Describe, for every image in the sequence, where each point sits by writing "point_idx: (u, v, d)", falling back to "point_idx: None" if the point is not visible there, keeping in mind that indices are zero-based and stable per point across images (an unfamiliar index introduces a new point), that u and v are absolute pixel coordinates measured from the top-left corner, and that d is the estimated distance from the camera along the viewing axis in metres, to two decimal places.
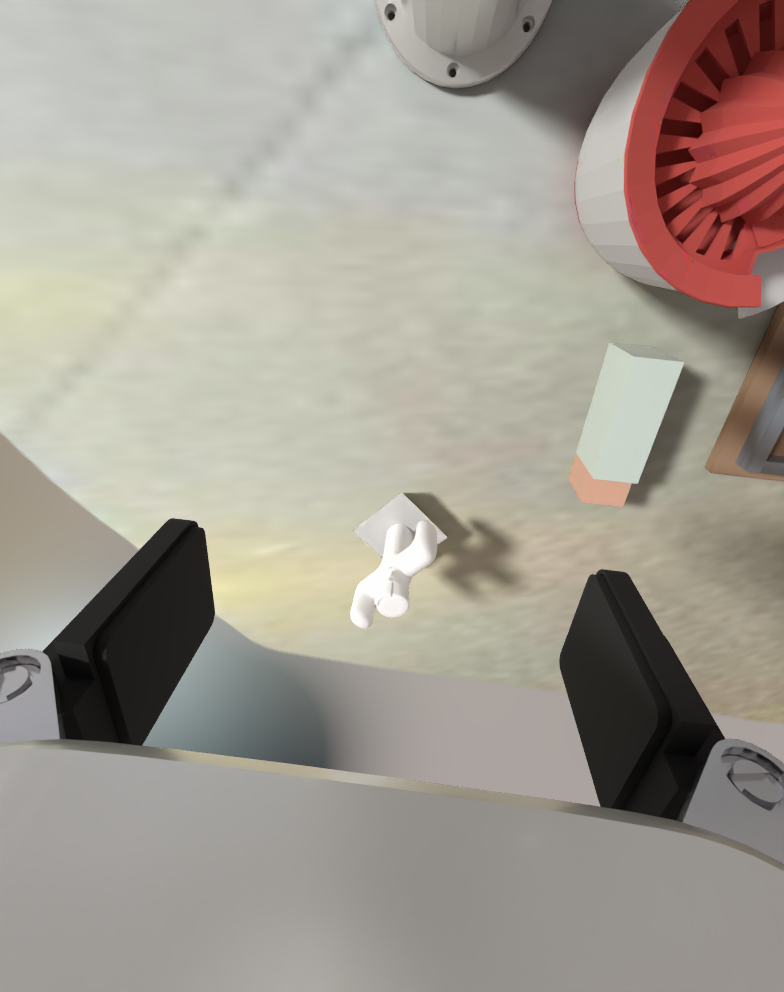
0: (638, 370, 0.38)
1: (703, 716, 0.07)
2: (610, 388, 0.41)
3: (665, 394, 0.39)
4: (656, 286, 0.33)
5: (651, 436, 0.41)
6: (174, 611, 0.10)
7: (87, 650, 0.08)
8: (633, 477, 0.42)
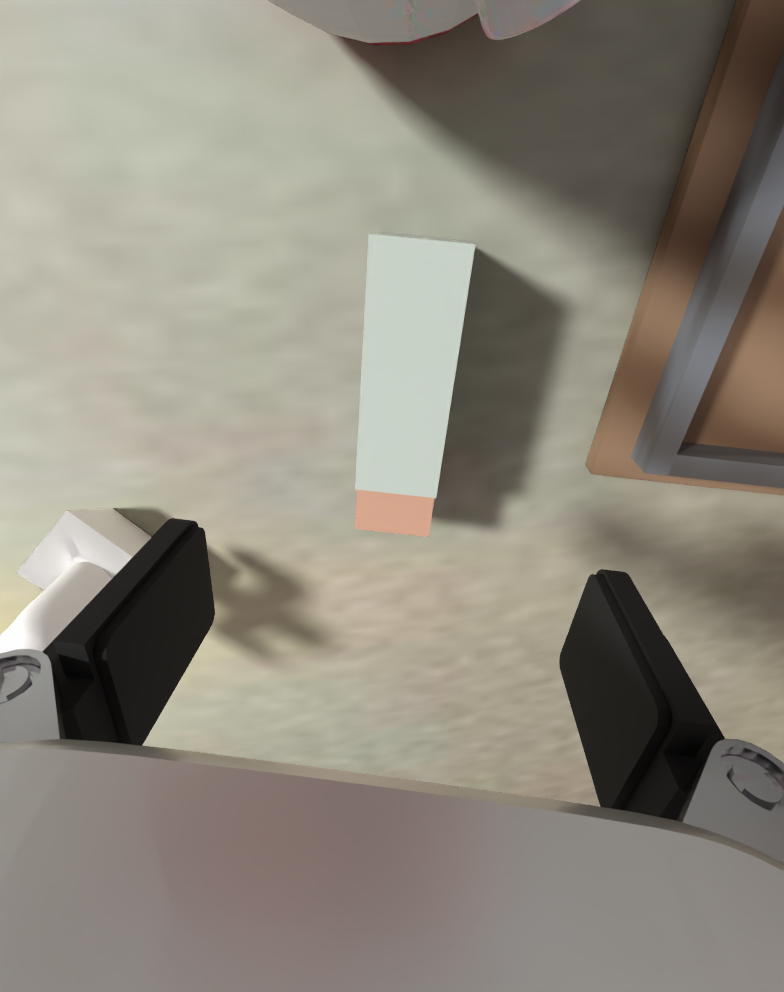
0: (385, 265, 0.18)
1: (703, 716, 0.07)
2: None
3: (450, 319, 0.19)
4: (320, 2, 0.12)
5: (441, 407, 0.21)
6: (174, 611, 0.10)
7: (87, 650, 0.08)
8: (426, 486, 0.23)
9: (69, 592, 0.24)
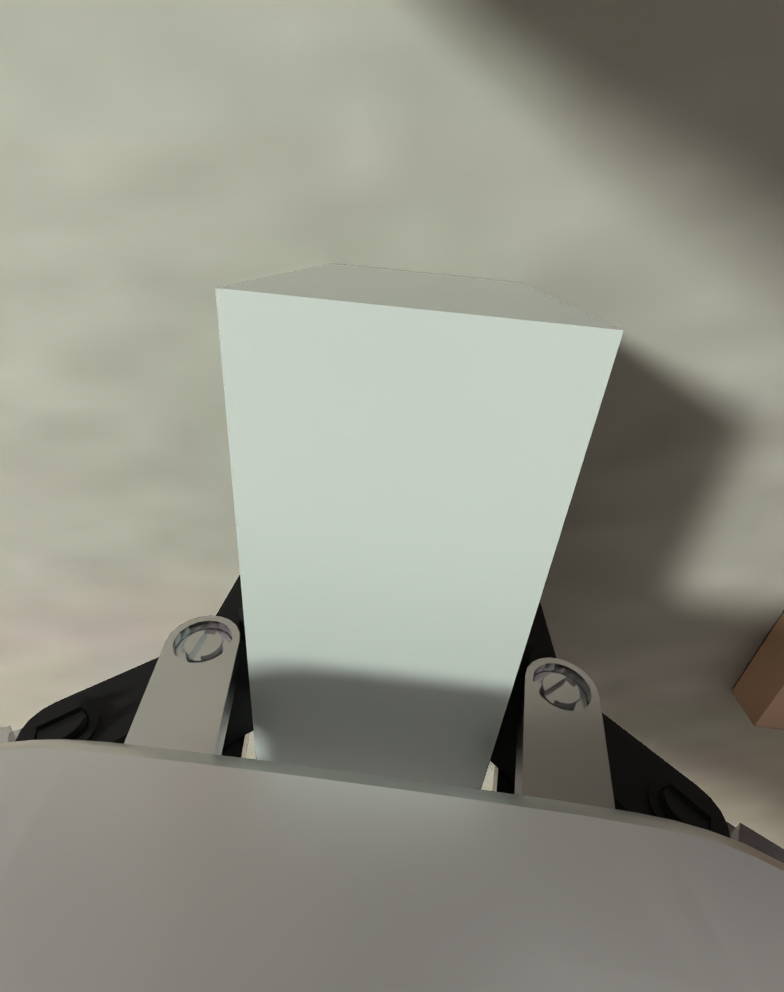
0: (287, 397, 0.05)
1: None
2: None
3: (511, 553, 0.06)
4: None
5: (472, 741, 0.08)
6: None
7: None
8: None
9: None
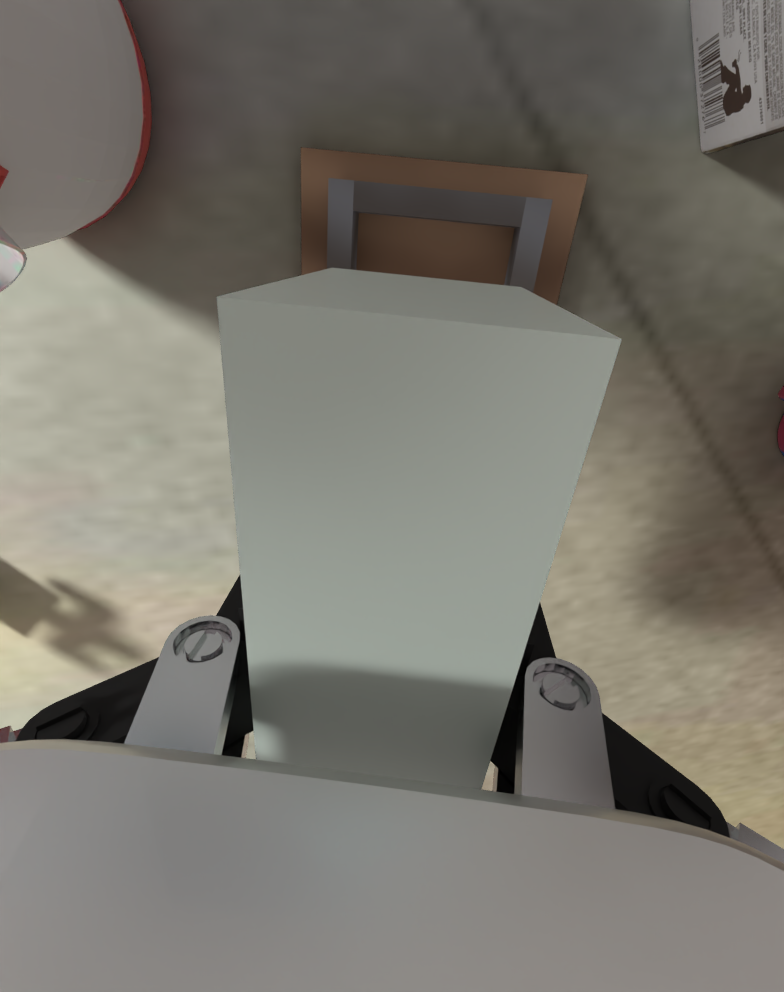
0: (288, 404, 0.05)
1: None
2: None
3: (510, 558, 0.06)
4: None
5: (471, 744, 0.08)
6: None
7: None
8: None
9: None
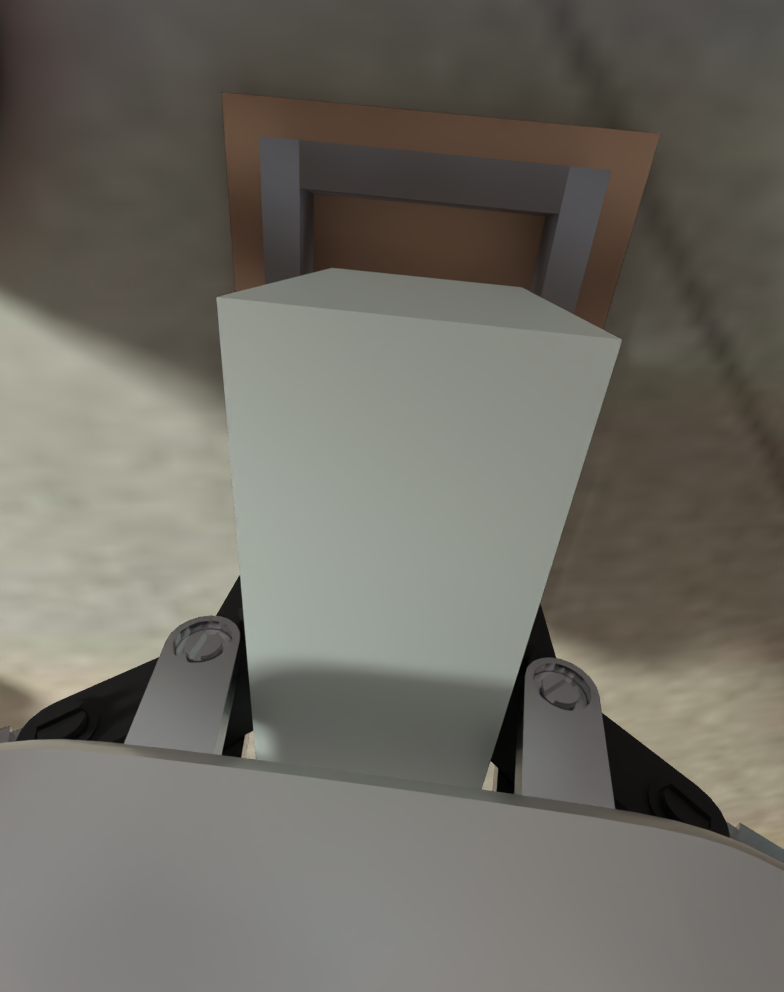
0: (288, 404, 0.05)
1: None
2: None
3: (510, 559, 0.06)
4: None
5: (471, 745, 0.08)
6: None
7: None
8: None
9: None
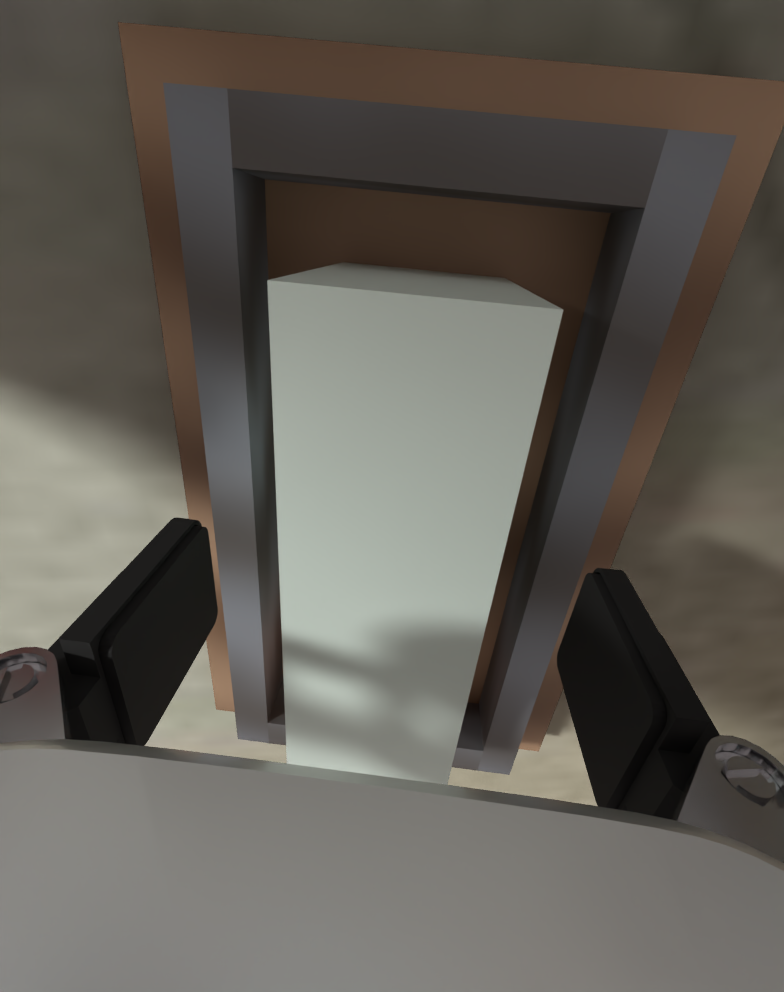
0: (317, 361, 0.07)
1: (697, 713, 0.07)
2: None
3: (487, 485, 0.08)
4: None
5: (461, 650, 0.09)
6: (178, 610, 0.10)
7: (92, 648, 0.08)
8: (427, 767, 0.11)
9: None
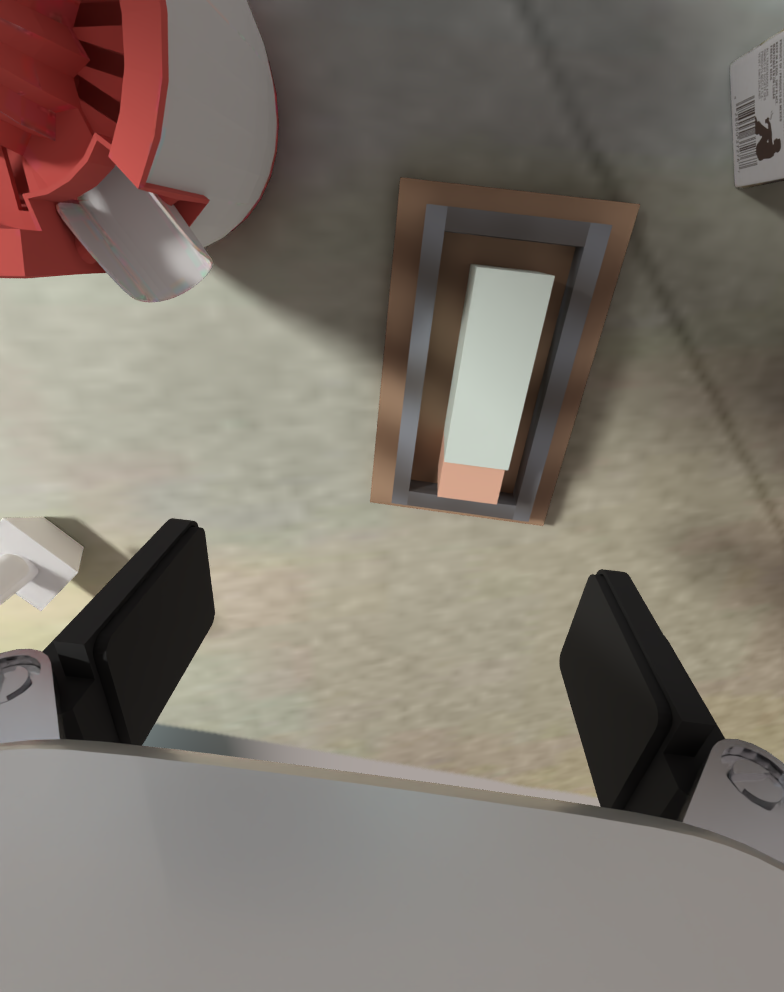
0: (486, 290, 0.25)
1: (703, 716, 0.07)
2: (463, 326, 0.28)
3: (532, 330, 0.25)
4: None
5: (519, 397, 0.27)
6: (174, 611, 0.10)
7: (87, 650, 0.08)
8: (501, 460, 0.29)
9: None
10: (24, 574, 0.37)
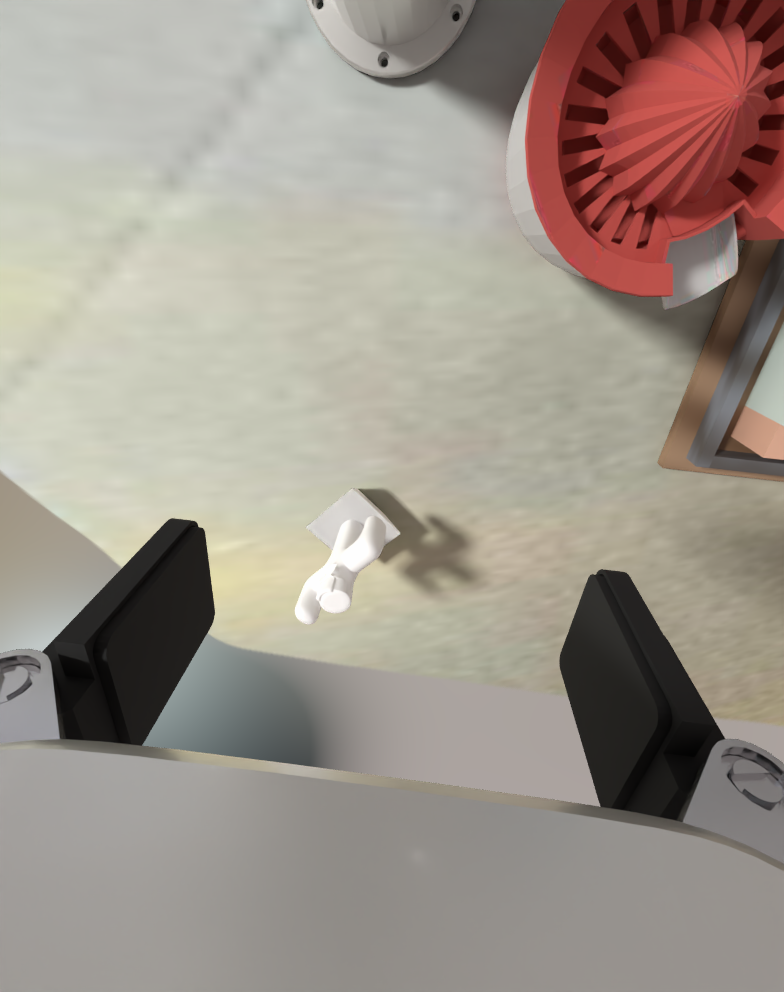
0: None
1: (703, 716, 0.07)
2: None
3: None
4: None
5: None
6: (174, 611, 0.10)
7: (87, 650, 0.08)
8: None
9: (377, 530, 0.44)
10: (385, 532, 0.46)
